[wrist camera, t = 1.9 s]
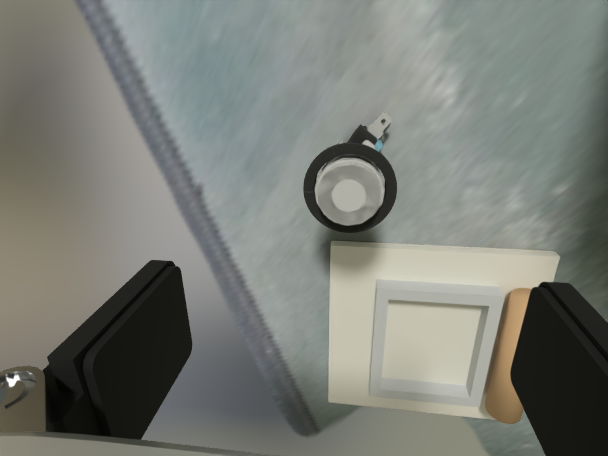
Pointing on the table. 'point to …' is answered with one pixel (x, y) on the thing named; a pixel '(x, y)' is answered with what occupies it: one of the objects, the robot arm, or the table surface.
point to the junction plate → (429, 326)
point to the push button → (352, 182)
